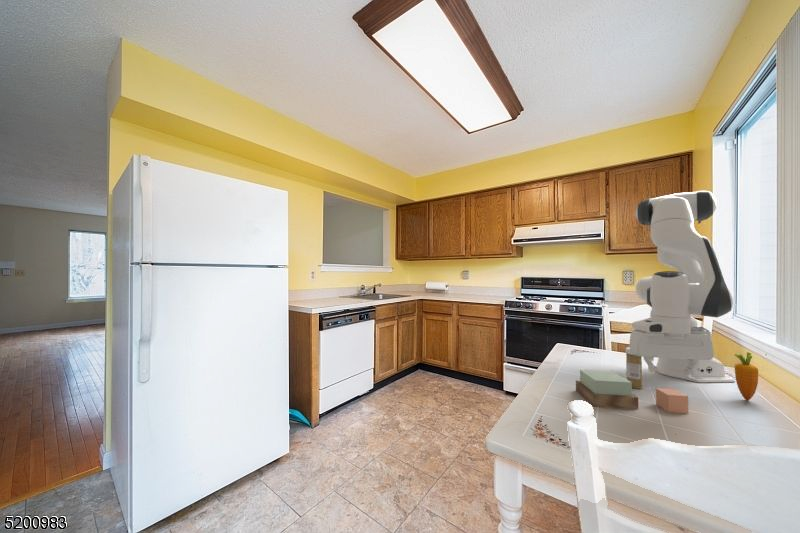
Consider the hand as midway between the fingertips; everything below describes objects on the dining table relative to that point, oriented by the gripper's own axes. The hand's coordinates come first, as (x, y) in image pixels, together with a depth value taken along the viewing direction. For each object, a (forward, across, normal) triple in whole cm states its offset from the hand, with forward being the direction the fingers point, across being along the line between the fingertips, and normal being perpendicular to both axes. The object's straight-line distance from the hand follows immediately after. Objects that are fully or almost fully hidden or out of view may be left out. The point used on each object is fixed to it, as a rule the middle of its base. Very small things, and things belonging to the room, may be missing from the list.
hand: (670, 372), depth 86 cm
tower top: (+7, +16, -4) cm, 18 cm away
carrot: (+10, -28, -11) cm, 32 cm away
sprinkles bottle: (+10, 0, -18) cm, 21 cm away
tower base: (+11, +16, -5) cm, 20 cm away
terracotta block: (+11, 0, -1) cm, 11 cm away
